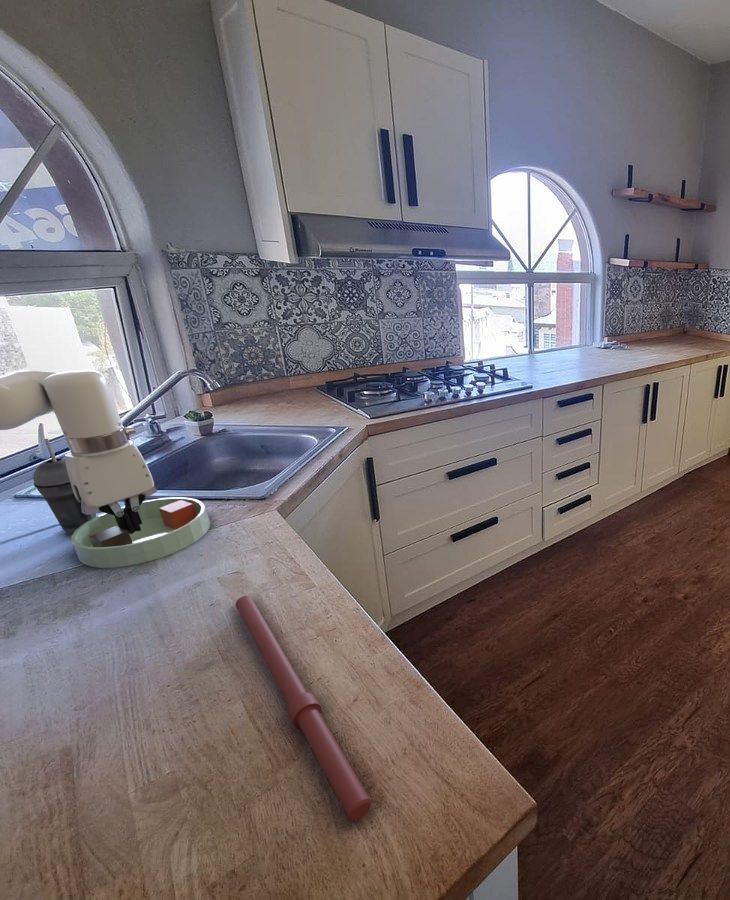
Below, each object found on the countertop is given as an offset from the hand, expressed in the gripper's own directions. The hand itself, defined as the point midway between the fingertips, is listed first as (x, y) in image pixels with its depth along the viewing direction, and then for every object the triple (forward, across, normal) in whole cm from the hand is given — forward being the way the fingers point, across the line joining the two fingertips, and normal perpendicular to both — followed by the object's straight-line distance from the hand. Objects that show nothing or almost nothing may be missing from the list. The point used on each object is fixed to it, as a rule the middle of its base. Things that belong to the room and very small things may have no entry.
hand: (132, 530), depth 95 cm
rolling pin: (+3, +7, +59) cm, 60 cm away
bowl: (+3, -1, +1) cm, 3 cm away
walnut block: (+2, +4, +2) cm, 5 cm away
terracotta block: (+2, -7, 0) cm, 8 cm away
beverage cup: (+3, +3, -13) cm, 14 cm away
